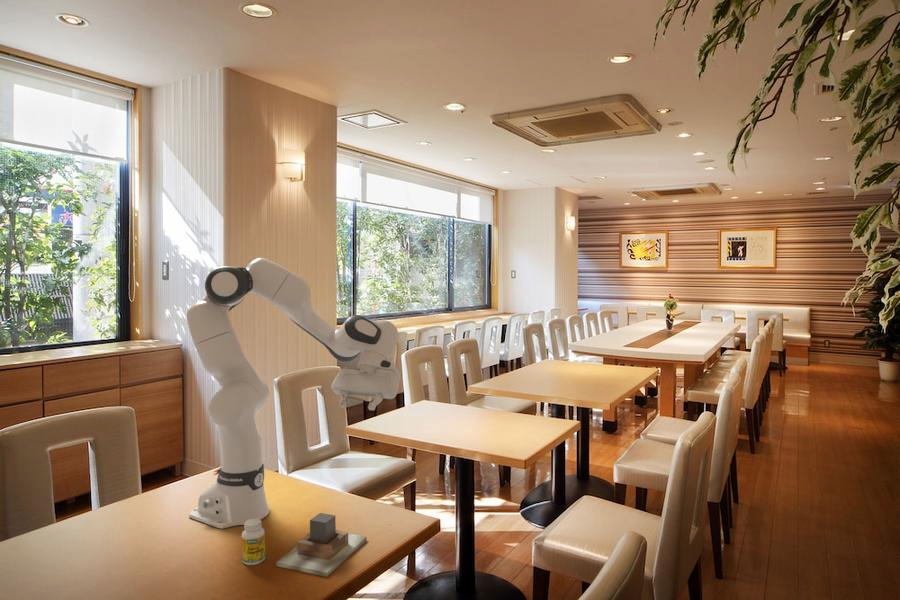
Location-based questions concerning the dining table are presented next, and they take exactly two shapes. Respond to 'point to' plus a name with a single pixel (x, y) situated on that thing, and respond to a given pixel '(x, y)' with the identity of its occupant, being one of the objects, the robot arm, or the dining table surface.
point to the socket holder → (321, 554)
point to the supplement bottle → (253, 542)
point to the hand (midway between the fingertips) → (356, 407)
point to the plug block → (322, 528)
